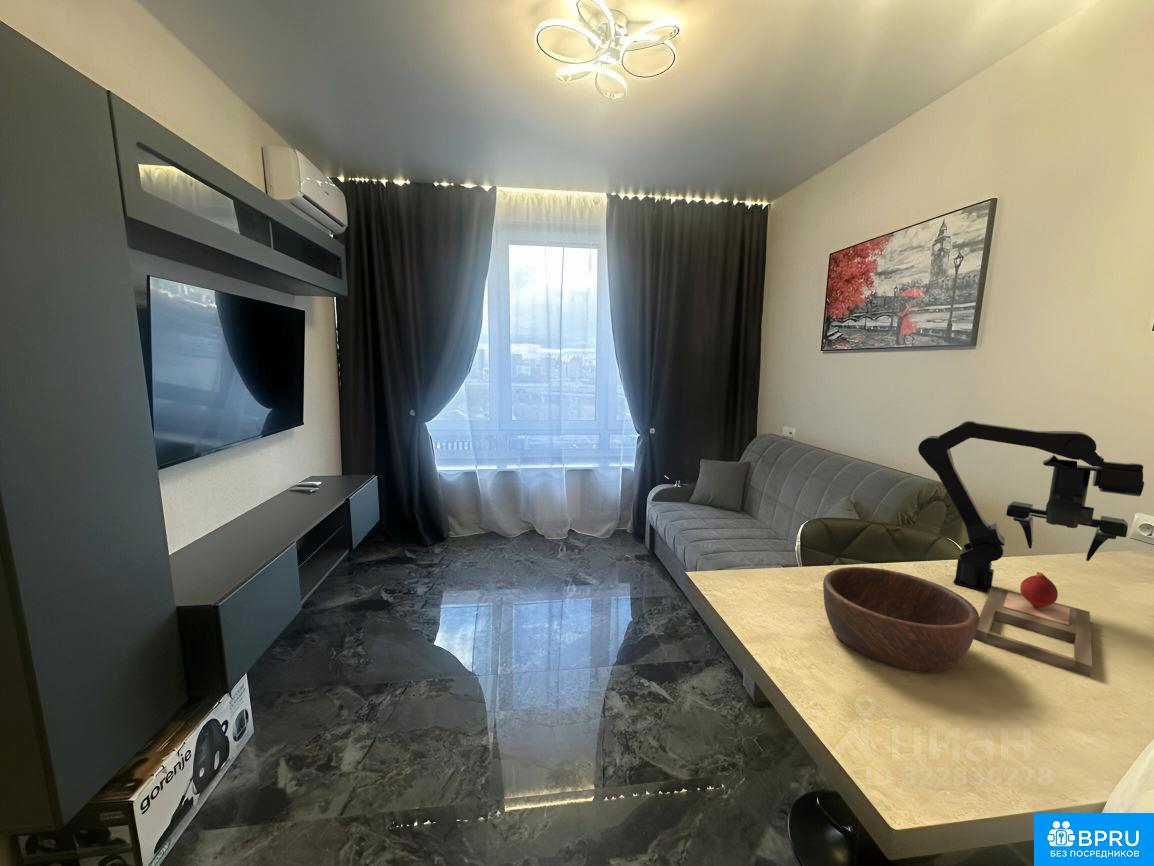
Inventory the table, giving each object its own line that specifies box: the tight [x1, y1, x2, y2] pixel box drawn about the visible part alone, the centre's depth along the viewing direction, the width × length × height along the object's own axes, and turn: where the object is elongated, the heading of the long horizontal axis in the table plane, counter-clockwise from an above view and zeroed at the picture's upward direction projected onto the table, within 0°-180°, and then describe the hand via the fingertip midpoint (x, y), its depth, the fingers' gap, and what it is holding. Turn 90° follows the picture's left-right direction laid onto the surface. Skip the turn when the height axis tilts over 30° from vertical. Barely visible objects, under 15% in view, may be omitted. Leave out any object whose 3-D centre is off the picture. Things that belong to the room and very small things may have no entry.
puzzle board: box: [973, 585, 1093, 677], centre depth 98 cm, size 16×28×2 cm, turn 133°
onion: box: [1019, 571, 1059, 608], centre depth 102 cm, size 6×6×8 cm
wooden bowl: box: [822, 566, 980, 673], centre depth 92 cm, size 25×25×10 cm
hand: (1057, 554), depth 107 cm, fingers open, 9 cm apart
